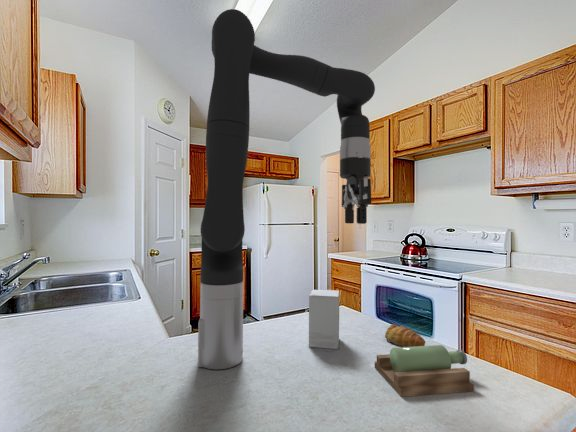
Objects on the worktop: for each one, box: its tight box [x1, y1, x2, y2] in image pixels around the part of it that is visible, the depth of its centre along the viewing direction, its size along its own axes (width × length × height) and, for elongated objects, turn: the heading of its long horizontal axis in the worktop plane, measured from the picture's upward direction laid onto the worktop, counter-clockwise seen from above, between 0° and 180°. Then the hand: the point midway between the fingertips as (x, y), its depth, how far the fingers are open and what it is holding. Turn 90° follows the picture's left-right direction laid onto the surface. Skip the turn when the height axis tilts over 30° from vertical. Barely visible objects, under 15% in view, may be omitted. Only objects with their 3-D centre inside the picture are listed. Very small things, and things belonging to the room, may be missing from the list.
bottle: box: [389, 344, 468, 372], centre depth 61 cm, size 14×5×5 cm, turn 98°
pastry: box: [384, 323, 426, 347], centre depth 78 cm, size 9×7×4 cm
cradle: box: [374, 353, 475, 398], centre depth 60 cm, size 14×11×3 cm
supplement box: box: [308, 289, 340, 350], centre depth 78 cm, size 7×7×13 cm
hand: (355, 223), depth 77 cm, fingers open, 8 cm apart
